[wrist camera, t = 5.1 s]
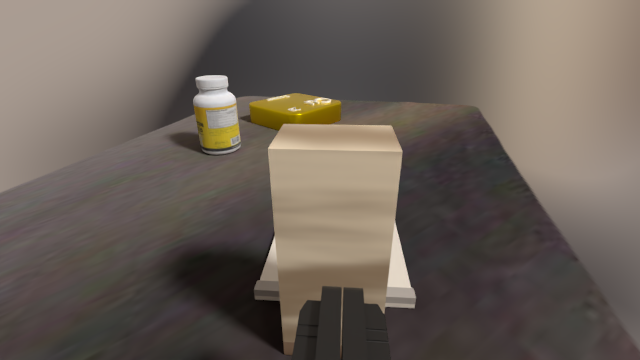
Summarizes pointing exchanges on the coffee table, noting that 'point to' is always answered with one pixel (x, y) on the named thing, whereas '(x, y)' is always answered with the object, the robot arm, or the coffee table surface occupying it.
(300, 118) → the element tile
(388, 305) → the mat
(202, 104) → the pill bottle
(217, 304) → the coffee table surface
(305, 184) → the birch block
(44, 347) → the coffee table surface
